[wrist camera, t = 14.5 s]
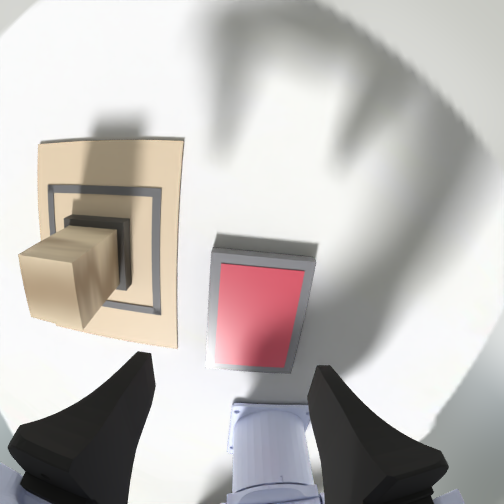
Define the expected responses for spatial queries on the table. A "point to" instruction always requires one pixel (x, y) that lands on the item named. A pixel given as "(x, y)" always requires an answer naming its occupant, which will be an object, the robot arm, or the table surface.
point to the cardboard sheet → (122, 206)
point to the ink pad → (256, 309)
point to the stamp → (77, 269)
